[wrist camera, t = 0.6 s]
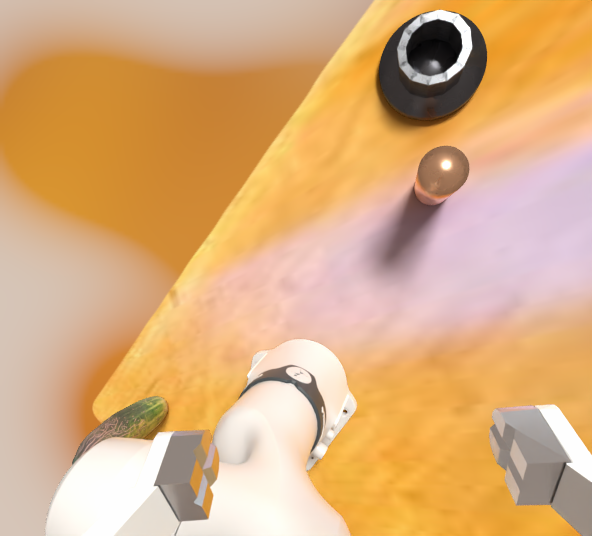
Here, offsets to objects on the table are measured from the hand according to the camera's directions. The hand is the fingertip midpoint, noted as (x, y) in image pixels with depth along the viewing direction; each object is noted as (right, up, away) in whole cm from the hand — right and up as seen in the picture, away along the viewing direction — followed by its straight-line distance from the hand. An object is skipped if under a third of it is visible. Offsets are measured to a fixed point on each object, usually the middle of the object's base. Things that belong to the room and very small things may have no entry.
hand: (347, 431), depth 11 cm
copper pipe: (+18, +16, +44) cm, 50 cm away
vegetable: (-27, -21, +61) cm, 70 cm away
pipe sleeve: (+18, +33, +43) cm, 56 cm away
